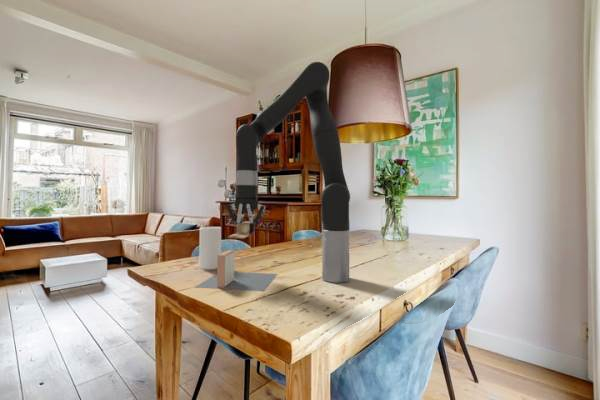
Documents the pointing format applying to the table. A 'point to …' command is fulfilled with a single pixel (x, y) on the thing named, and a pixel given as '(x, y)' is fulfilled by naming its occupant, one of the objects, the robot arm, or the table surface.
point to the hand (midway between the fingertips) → (245, 233)
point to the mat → (242, 281)
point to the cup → (209, 247)
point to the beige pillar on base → (242, 230)
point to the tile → (225, 268)
